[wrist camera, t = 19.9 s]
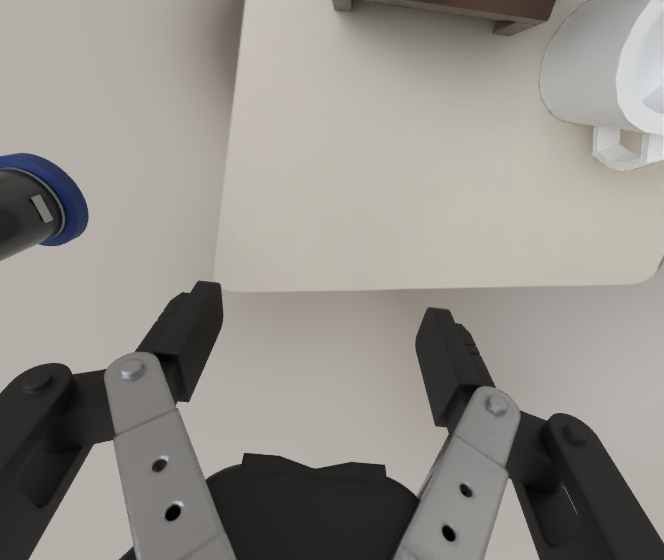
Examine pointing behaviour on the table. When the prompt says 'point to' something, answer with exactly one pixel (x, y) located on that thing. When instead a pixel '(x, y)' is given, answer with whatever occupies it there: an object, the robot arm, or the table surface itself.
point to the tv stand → (478, 10)
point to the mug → (610, 77)
